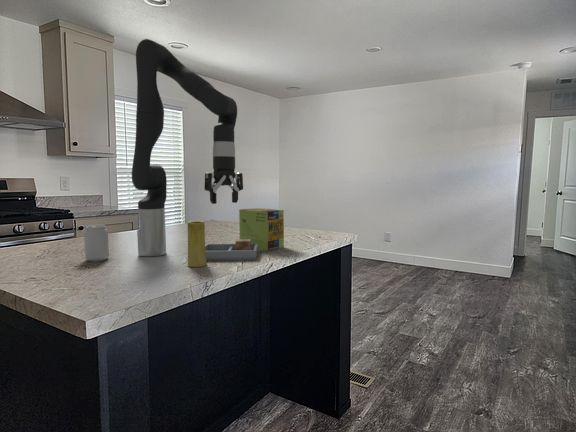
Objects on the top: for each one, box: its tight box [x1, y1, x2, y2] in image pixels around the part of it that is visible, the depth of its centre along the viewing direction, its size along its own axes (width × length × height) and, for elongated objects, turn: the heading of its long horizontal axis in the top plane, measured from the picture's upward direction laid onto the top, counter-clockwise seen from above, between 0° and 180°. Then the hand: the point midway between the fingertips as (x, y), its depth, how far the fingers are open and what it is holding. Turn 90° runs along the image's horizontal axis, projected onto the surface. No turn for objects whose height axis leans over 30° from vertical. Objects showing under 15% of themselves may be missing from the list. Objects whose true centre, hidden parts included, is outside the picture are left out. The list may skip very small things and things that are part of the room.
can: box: [83, 224, 110, 262], centre depth 136 cm, size 8×8×12 cm
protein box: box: [238, 207, 285, 252], centre depth 158 cm, size 10×15×16 cm
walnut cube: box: [234, 238, 251, 250], centre depth 141 cm, size 5×5×5 cm
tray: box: [205, 243, 259, 262], centre depth 141 cm, size 20×15×3 cm
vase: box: [187, 220, 208, 268], centre depth 126 cm, size 6×6×14 cm
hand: (224, 203), depth 134 cm, fingers open, 8 cm apart
